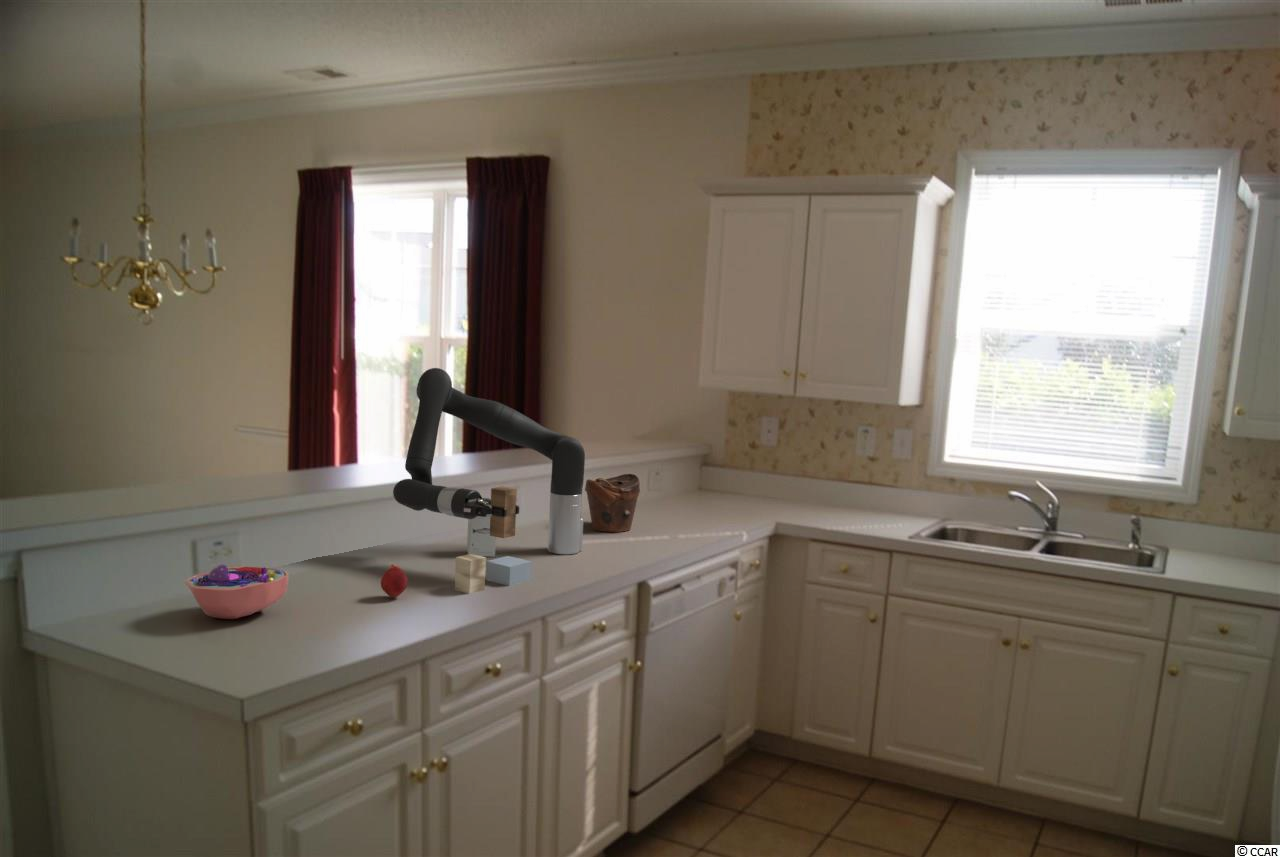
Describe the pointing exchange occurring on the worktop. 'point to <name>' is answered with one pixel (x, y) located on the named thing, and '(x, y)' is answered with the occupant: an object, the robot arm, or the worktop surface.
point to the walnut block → (507, 500)
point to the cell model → (237, 590)
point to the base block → (508, 570)
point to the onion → (394, 581)
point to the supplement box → (480, 537)
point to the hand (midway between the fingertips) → (512, 511)
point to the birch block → (470, 573)
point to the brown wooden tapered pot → (613, 502)
